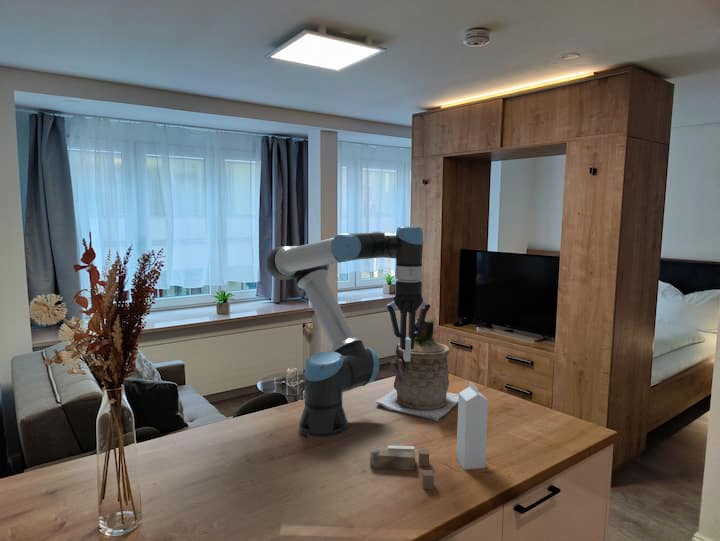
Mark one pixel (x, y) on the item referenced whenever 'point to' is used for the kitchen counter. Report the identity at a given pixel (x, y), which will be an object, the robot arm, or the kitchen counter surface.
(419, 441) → the kitchen counter surface
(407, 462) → the hinged leg
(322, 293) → the robot arm
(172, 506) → the kitchen counter surface
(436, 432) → the kitchen counter surface
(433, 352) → the cookie jar
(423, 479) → the stool seat
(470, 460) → the milk
